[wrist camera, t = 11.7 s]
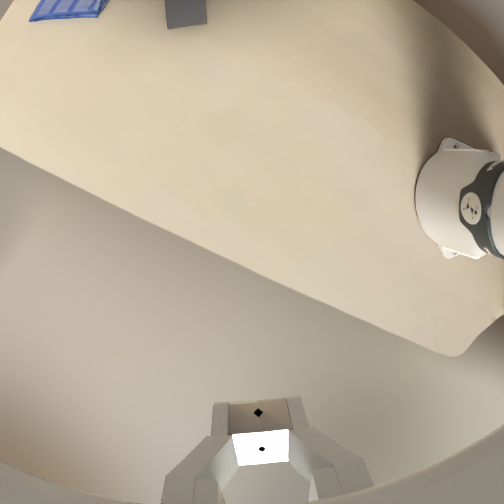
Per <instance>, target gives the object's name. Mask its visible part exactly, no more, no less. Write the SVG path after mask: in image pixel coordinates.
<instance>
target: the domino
mask: <svg viewBox="0 0 504 504" xmlns="http://www.w3.org/2000/svg"><path fill="white" fill-rule="evenodd" d="M165 7H166V18H167V28H168V29H174V28H180V27H187V26H194V25H202V24H207V15H206V1H205V0H165Z"/></svg>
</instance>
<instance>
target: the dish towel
mask: <svg viewBox="0 0 504 504" xmlns="http://www.w3.org/2000/svg"><path fill="white" fill-rule="evenodd" d="M108 1H109V0H41V1H40V2H39V4H38V5H37V7H36V9H35V10H34V12H33V14H32V15H31V17H30V19H29V22H32V21H40V20H48V19H69V18H83V17H94V18H98V15H99V14H100V12H101V11H102V10H103V9H104V7H105V5H106V4H107V3H108Z"/></svg>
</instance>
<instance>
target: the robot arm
mask: <svg viewBox="0 0 504 504" xmlns="http://www.w3.org/2000/svg"><path fill="white" fill-rule="evenodd" d="M454 147H455V149H454ZM500 158H501V156H500V154H498V153H495V152H489V151H488V150H479V149H474V148H472V147H470V146H468V145H466V144H464V143H461V142H459V141H457V140H455V139H452V138H444V139H443V141H442V142H441V145H440V147H439V149H438V151H437V153H436V154H435V155H433V156H432V157H431V158H430V159H429V160H428V161H427V162H426V164H425V165H424V167H423V168H422V170H421V172H420V175H419V178H418V181H417V186H416V194H415V202H416V211H417V215H418V219H419V222H420V224H421V226H422V228H423V230H424V231H425V233H426V234H427V235H428V236H429V237H430V238H431V239H432V240H433V241H435V242H436V244H437V245H438V248H439V250H440V252H441V254H442V256H443V257H445V258H452V257H454V256H457V255H459V254H462V255H465V256H468V257H471V258H474V259H479V258H480V257H481V256H484V255H486V254H487V253H488V254H490V255H491V256H493V257H496V258H501V259H504V161H503V160H502V161H501V160H500ZM280 461H288V462H289V463H290V464H291V465H292V466H293V467H294V468H295V469H296V470H297V471H298V472H299V473H300V474H301V475H302V476H303V477H305V478H306V479H307V480H308V481H309V482H310V483H311V487H310V492H309V498H308V502H304V503H297V504H504V424H503V425H502V426H500V427H499V428H497V429H496V430H494V431H492V432H491V433H490V434H488V435H486V436H485V437H483V438H481V439H480V440H478V441H476V442H475V443H472V444H471V445H469V446H467V447H465V448H463V449H462V450H460V451H458V452H456V453H454V454H452V455H450V456H448V457H446V458H444V459H442V460H440V461H438V462H435V463H433V464H431V465H429V466H426V467H424V468H422V469H419V470H417V471H414V472H412V473H409V474H407V475H404V476H402V477H399V478H396V479H393V480H390V481H388V482H385V483H382V484H379V485H375V486H374V484H373V481H372V479H371V476H370V474H369V472H368V470H367V467H366V465H365V462H364V459H363V458H362V457H360V456H359V455H357V454H355V453H353V452H352V451H351V450H349V449H347V448H346V447H344V446H342V445H341V444H339V443H338V442H336V441H335V440H333V439H332V438H330V437H329V436H327V435H326V434H324V433H323V432H321V431H320V430H318V429H317V428H316V427H314V426H313V427H310V426H309V423H308V420H307V416H306V412H305V409H304V406H303V402H302V399H301V396H300V395H296V396H289V397H282V398H275V399H265V400H257V401H239V402H220V403H214V405H213V413H212V427H211V436H206V437H205V438H204V439H203V440H202V442H201V443H200V444H198V446H196V447H195V449H194V450H192V451H191V452H190V453H189V454H188V455H187V456H186V457H185V458H184V459H183V460H182V461H181V462H180V463H179V464H178V465H177V466H176V467H175V468H174V469H173V470H172V471H171V472H170V473H169V474H167V475H166V477H165V482H164V488H163V493H162V499H161V504H226V503H225V500H224V497H223V495H222V492H221V491H222V490H223V489H224V487H225V486H226V484H227V483H228V482H229V480H230V479H231V477H232V476H233V474H234V473H235V471H236V470H237V469H238V467H239V465H246V464H256V463H268V462H280ZM0 504H141V503H134V502H128V501H123V500H117V499H113V498H108V497H104V496H100V495H96V494H92V493H88V492H84V491H81V490H77V489H74V488H71V487H67V486H64V485H61V484H58V483H55V482H52V481H50V480H47V479H44V478H42V477H39V476H37V475H34V474H32V473H29V472H27V471H24V470H22V469H20V468H18V467H16V466H13V465H11V464H9V463H7V462H5V461H3V460H1V459H0Z"/></svg>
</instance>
